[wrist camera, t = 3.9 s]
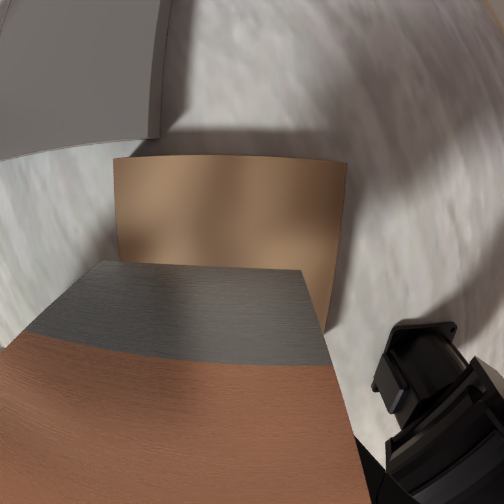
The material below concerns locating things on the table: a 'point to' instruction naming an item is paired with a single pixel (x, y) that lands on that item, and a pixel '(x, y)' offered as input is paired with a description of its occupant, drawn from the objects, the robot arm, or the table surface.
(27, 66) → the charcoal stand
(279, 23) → the table surface
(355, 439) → the robot arm
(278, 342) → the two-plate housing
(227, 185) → the walnut stand
